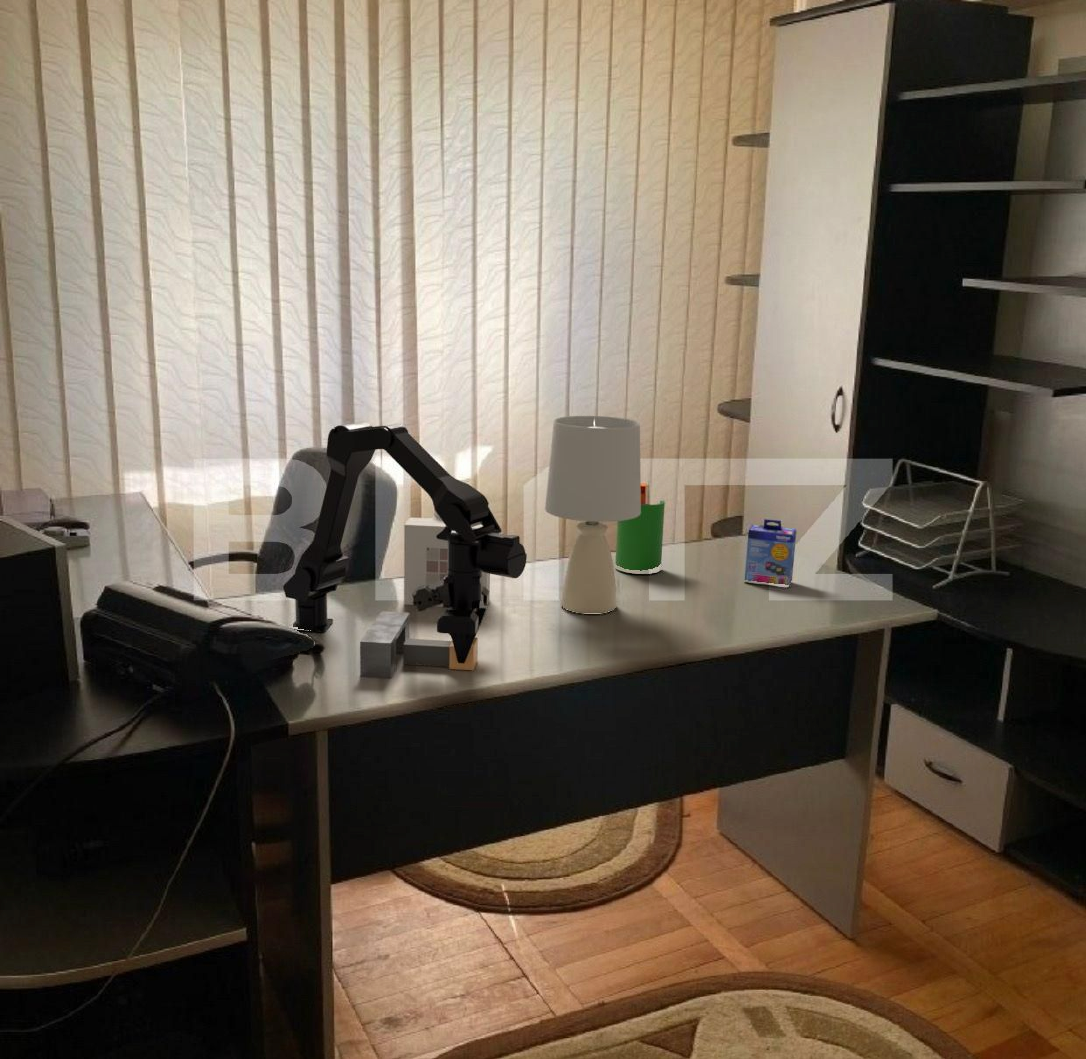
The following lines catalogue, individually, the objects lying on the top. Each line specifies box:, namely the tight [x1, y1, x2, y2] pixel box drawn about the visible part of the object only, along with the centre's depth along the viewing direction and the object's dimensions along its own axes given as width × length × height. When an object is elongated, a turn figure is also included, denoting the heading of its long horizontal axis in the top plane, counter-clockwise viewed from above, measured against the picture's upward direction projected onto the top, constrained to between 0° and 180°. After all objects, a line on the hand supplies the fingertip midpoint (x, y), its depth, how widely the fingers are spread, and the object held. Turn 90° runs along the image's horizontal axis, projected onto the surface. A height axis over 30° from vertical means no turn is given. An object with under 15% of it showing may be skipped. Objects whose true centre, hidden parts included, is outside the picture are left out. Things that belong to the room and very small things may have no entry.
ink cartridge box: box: [743, 518, 797, 586], centre depth 242 cm, size 10×6×14 cm, turn 72°
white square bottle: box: [403, 509, 491, 609], centre depth 227 cm, size 16×19×20 cm
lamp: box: [544, 415, 641, 613], centre depth 219 cm, size 19×19×37 cm
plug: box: [402, 637, 479, 671], centre depth 189 cm, size 5×12×4 cm, turn 85°
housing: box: [359, 610, 411, 679], centre depth 190 cm, size 16×5×6 cm, turn 176°
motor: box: [615, 483, 666, 571], centre depth 248 cm, size 10×9×20 cm
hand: (463, 657), depth 189 cm, fingers closed on plug, 5 cm apart
